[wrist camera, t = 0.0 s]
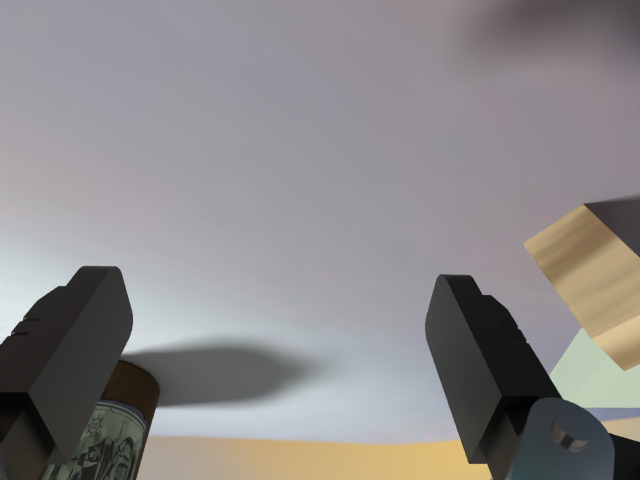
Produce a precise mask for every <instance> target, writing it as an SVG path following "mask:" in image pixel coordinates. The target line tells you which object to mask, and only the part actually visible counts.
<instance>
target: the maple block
mask: <svg viewBox="0 0 640 480" xmlns="http://www.w3.org/2000/svg"><path fill="white" fill-rule="evenodd" d="M523 245H524V246H525V248H526V249H527V250H528V252H529V253H530V255H531V256H532V257H533V259H534V260H535V262H536V263H537V264H538V266H539V267H540V268H541V270H542V271H543V273H544V274H545V275H546V277H547V278H548V280H549V281H550V282H551V284H552V285H553V287H554V288H555V289H556V291H557V292H558V294H559V295H560V296H561V298H562V299H563V301H564V302H565V303H566V305H567V306H568V308H569V309H570V310H571V312H572V313H573V315H574V316H575V317H576V319H577V320H578V322H579V323H580V324H581V326H582V327H583V329H584V330H585V331H586V333H587V334H588V336H589V337H590V338H591V340H592V341H593V342H595V343H596V344H597V345H598V346H599V347H600V348H601V349H602V350H603V351H604V352H605V353H606V354H607V355H608V356H609V357H610V358H611V359H612V360H613V361H614V362H615V363H616V364H617V365H618V366H619V367H620V368H621V369H622V370H623V371H626V370H628V369H631V368H633V367H635V366H637V365H639V364H640V257H638V256H637V255H636V254H635V253H634V252H633V251H632V250H631V249H630V248H629V247H628V246H627V245H626V244H625V243H624V242H623V241H622V240H621V239H620V238H618V237H617V236H616V235H615V234H614V233H613V232H612V231H611V230H610V229H609V228H608V227H607V226H606V225H605V224H604V223H603V222H602V221H601V220H600V219H598V218H597V217H596V216H595V215H594V214H593V213H592V212H591V211H590V210H589V209H588V208H587V207H586V206H585V205H584V204H582V205H581V206H579V207H578V208H576V209H575V210H573V211H572V212H570V213H569V214H567V215H566V216H564V217H563V218H561V219H560V220H558V221H557V222H555V223H553V224H552V225H550V226H549V227H547V228H546V229H544V230H543V231H541V232H540V233H538V234H537V235H535V236H534V237H532V238H531V239H529V240H528V241H526V242H525V243H523Z"/></svg>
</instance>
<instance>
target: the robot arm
mask: <svg viewBox="0 0 640 480" xmlns="http://www.w3.org/2000/svg"><path fill="white" fill-rule="evenodd" d="M132 326H133V313H132V309H131V305H130V302H129V298H128V295H127V291H126V287H125V284H124V280H123V276H122V273H121V271H120V269H119V268H118V267H116V266H83V267H81V268H80V269H79V270H78V271H77V272H76V274H75V275H74V276H73V277H72V279H71V280H70V281H69V283H68V284H67V285H66V286H58V287H57V288H55V289H54V290H52V291H51V292H49V293H48V294H46V295H45V296H43V297H42V298H40V299H39V300H38V301H37V302H36V303H35V304H34V305H33V306H32V308H31V309H30V310H29V311H28V312H27V314H26V315H25V316H24V317H23V321H20V322H19V323H18V325H17V326H16V327H15V328H14V329H13V331H12V332H11V336H8V337H7V338H6V339H5V340H4V341H3V343H2V344H1V345H0V480H37V479H38V477H39V475H40V473H41V471H42V470H43V468H44V466H45V465H68V463H69V461H70V458H71V456H72V454H73V452H74V450H75V448H76V446H77V444H78V442H79V440H80V438H81V436H82V434H83V432H84V430H85V428H86V426H87V424H88V422H89V419H90V417H91V415H92V413H93V411H94V409H95V407H96V405H97V403H98V401H99V399H100V397H101V395H102V393H103V391H104V389H105V387H106V385H107V382H108V380H109V378H110V376H111V374H112V372H113V370H114V368H115V366H116V364H117V362H118V360H119V358H120V356H121V354H122V352H123V350H124V348H125V346H126V343H127V341H128V339H129V337H130V335H131V331H132ZM425 332H426V339H427V343H428V346H429V348H430V351H431V354H432V357H433V360H434V363H435V366H436V369H437V372H438V375H439V378H440V381H441V384H442V386H443V389H444V392H445V395H446V398H447V401H448V404H449V407H450V410H451V413H452V416H453V419H454V422H455V424H456V427H457V430H458V433H459V436H460V439H461V442H462V445H463V448H464V451H465V454H466V457H467V459H468V463H469V464H488V467H489V470H490V472H491V475H492V478H491V480H640V442H638V441H634V440H630V439H627V438H624V437H620V436H617V435H614V434H611V433H608V432H607V430H606V429H605V427H604V426H603V425H602V424H601V422H600V421H599V420H598V419H597V418H596V417H594V416H593V415H592V414H591V413H590V412H588V411H587V410H585V409H584V408H582V407H580V406H579V405H577V404H575V403H572V402H570V401H567V400H564V399H563V398H562V396H561V395H560V393H559V392H558V390H557V388H556V387H555V385H554V384H553V382H552V380H551V379H550V377H549V375H548V374H547V372H546V371H545V369H544V367H543V366H542V364H541V363H540V361H539V359H538V358H537V356H536V354H535V353H534V351H533V350H532V348H531V346H530V345H529V343H526V338H525V337H524V335H523V333H522V332H521V330H520V329H518V325H517V324H516V322H515V321H514V319H513V317H512V316H511V314H510V313H509V311H508V309H506V308H505V307H504V306H503V305H502V304H501V303H499V302H498V301H497V300H496V299H495V298H494V297H492V296H491V295H482V293H481V291H480V289H479V288H478V286H477V284H476V282H475V281H474V279H473V277H472V276H470V275H446V274H441V275H439V276H438V278H437V280H436V283H435V287H434V290H433V294H432V298H431V301H430V305H429V309H428V313H427V316H426V322H425Z"/></svg>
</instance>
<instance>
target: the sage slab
mask: <svg viewBox="0 0 640 480" xmlns="http://www.w3.org/2000/svg"><path fill="white" fill-rule="evenodd" d="M549 377H550V379H551V380H552V382H553V384H554V385H555V387H556V388H557V390H558V392H559V393H560V395H561V396H562V398H563V399H564V400H567V401H570V402H572V403H575V404H577V405H579V406H580V407H582V408H589V407H640V364H639V365H637V366H635V367H633V368H631V369H628V370H626V371H623V370H622V369H621V368H620V367H619V366H618V365H617V364H616V363H615V362H614V361H613V360H612V359H611V358H610V357H609V356H608V355H607V354H606V353H605V352H604V351H603V350H602V349H601V348H600V347H599V346H598V345H597V344H596V343H595V342H593V341H592V340H591V338H590V337H589V336H588V334H587V333H586V331H585V330H584V329H583V327H582V328H581V329H580V331H579V332H578V334H577V335H576V337H575V338H574V340H573V341H572V343H571V344H570V346H569V347H568V349H567V350H566V352H565V353H564V355H563V356H562V358H561V359H560V360H559V362H558V363H557V365H556V366H555V368H554V369H553V371H552V372H551V374H550V375H549Z"/></svg>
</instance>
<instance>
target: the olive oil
mask: <svg viewBox="0 0 640 480" xmlns="http://www.w3.org/2000/svg"><path fill="white" fill-rule="evenodd" d="M159 393H160V390H159V386H158V384H157V382H156V381H155V379H154V378H153V377H152V376H151V375H150V374H148V373H147V372H146V371H144V370H142V369H141V368H139V367H137V366H134V365H132V364H129V363H126V362H122V361H118V362H117V364H116V366H115V368H114V370H113V372H112V374H111V376H110V378H109V380H108V382H107V385H106V387H105V389H104V391H103V393H102V395H101V397H100V399H99V401H98V403H97V405H96V407H95V409H94V411H93V413H92V415H91V417H90V419H89V422H88V424H87V426H86V428H85V430H84V432H83V434H82V436H81V438H80V440H79V442H78V444H77V446H76V448H75V450H74V452H73V454H72V456H71V458H70V461H69V463H68V465H45V466H44V468H43V470H42V471H41V473H40V475H39V477H38V479H37V480H136V478H137V474H138V470H139V467H140V463H141V459H142V456H143V451H144V448H145V444H146V441H147V437H148V434H149V430H150V427H151V423H152V420H153V416H154V413H155V409H156V406H157V402H158V399H159Z"/></svg>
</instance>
